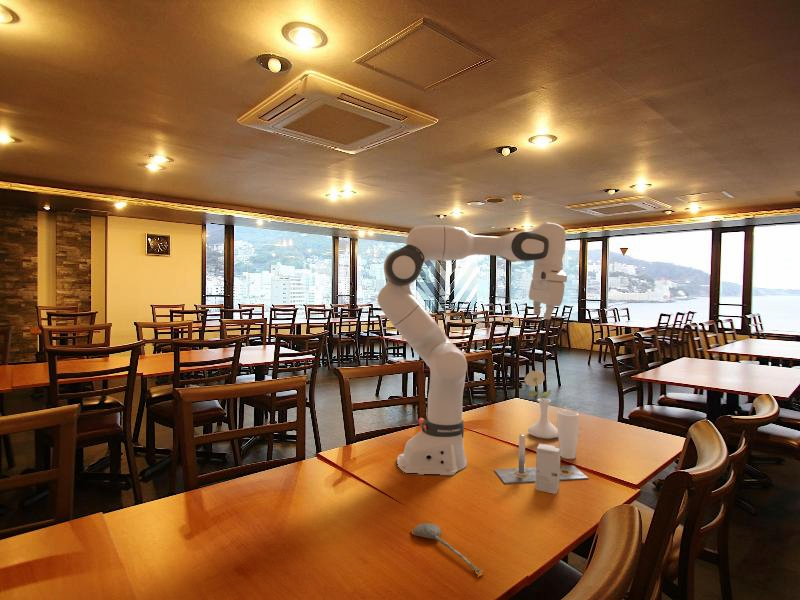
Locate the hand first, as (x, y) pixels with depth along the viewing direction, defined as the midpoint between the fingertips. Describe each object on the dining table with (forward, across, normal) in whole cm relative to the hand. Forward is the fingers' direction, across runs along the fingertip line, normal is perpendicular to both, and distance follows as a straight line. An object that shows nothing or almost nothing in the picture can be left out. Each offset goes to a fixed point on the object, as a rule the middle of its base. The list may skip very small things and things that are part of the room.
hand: (541, 316), depth 145 cm
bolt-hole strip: (+47, +13, +1) cm, 49 cm away
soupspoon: (+49, +49, -34) cm, 77 cm away
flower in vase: (+48, -20, +13) cm, 53 cm away
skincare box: (+47, +22, 0) cm, 52 cm away
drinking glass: (+46, 0, +15) cm, 49 cm away
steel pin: (+47, +14, -5) cm, 50 cm away
